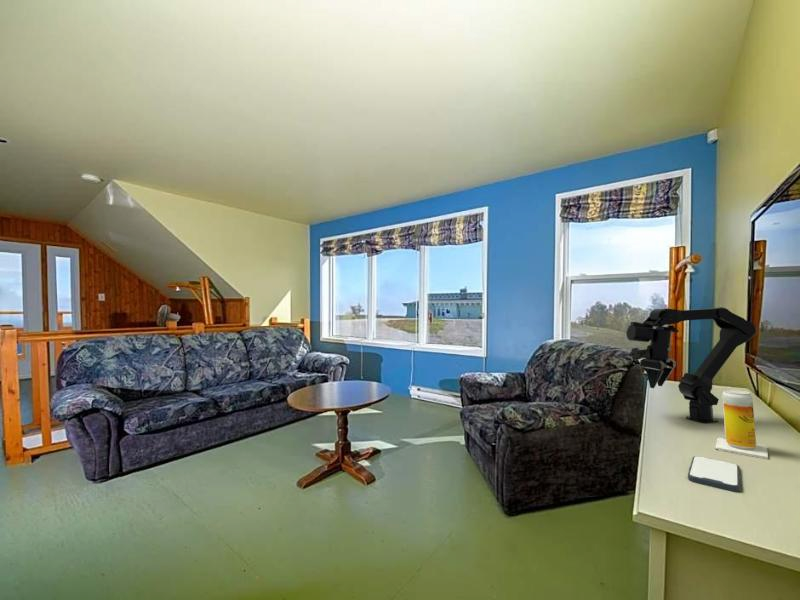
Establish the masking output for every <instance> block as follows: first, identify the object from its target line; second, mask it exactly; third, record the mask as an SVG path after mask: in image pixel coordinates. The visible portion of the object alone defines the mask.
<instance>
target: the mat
mask: <svg viewBox="0 0 800 600" xmlns="http://www.w3.org/2000/svg"><path fill="white" fill-rule="evenodd" d="M714 449H715V450H716V449H718V450H717V451H720V450H723V451H722V452H726V451H728V452H727V453H731V452H733V453H732V454H736V453H738V455H742V454H743V455H744V456H747V455H748V457H755V458H760V459H765V460H769V456H768V447H767V445H764V444H759V443H756V447H754V449H752V450H745V449H739V448H735V447H732V446H730V445H728V443H727V442H726V440H725V438H723V437H722V438H721V437H717V439H716V444H715V448H714ZM743 455H742V456H743Z"/></svg>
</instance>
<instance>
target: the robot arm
mask: <svg viewBox="0 0 800 600" xmlns="http://www.w3.org/2000/svg"><path fill="white" fill-rule="evenodd" d="M700 320H712V321H714V323H715V326H717V327H718V328H719V329H720V330H719V339H718V342H717V343H716V344H715V345H714V346H713V348H712V349H711V351H710V352H709V353H708V355H706V357H705V359H704V360H703V362H702V363H701V364H700V366H699V367H698V368H697V369H696V371H695V372H692V373H689V372H685V373H684V374H683V375H682V378H681V379H679V380H678V382H679V383H678V391H679V392H680V394H682V396H683V398H684V400H687V401H688V404H689V405H688V408H689V409H688V413H689V415H688V416H685V419H688V420H692V421H694V422H695V421H696V422H700V423H702V424H709V423H715V422H719V419H717V418H714V408H713V406H717V405H718V404H719V399H720V398H718V397H717V396H716V395H714V394H713V393H712V392H711V391H712V390H713V380H714V378H715V377H716V375H717V374H718V373H719V371H720V370H721V369H722V367H724V364H725V363H726V362H727V360H729V358H730V357H731V355H733V353H734V352H735V350H736V349H737V347H739V346H741V345H743V344H745V343H747V342H749V341H750V340H751V339H752V337H754V336H755V334H756V332H757V329H756V327H755V326H756V325H754V323H752V322H751V321H748V320H746V318H744V317H741V316H740V315H738V314H735V313H734V312H732V311H730V310H729V309H727V308H725V307H718V306H717V307H711V308H698V309H683V310H682V309H676V308H654V309H652V310H651V311H650V313H649V316H647V318H646V319H645V320H644V321H643V322H639V321H638V322H637V321H631V322H630V325H629V326H628V328H627V329H626V337H627V340H629V341H630V342H631V341H632V342H633V341H634V342H642V343H649V342H650V344H649V345H647V346H646V348H645V349H644V348H643V349H640V348H638V347H633V348H631V351H629V356H631V359H632V361H638V360H640V361H639V367H641V369H643V370H644V372H646V374H647V379H648V384H649V388H650V389H654V388H656V386H659V387H662V386H663V385H664V383H666V381H667V379H668V378H669V376H670V375H671V373H672V372H673V371H674V368H676V366H677V361H676V360H674V359H672V358H670V351H672V347H671V340H672V333H679V332H680V330H678V329H677V328H676V327H675V324H678V323H682V322H685V321H700ZM654 327H656V328H654Z"/></svg>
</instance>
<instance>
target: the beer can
mask: <svg viewBox="0 0 800 600" xmlns="http://www.w3.org/2000/svg"><path fill="white" fill-rule="evenodd" d="M721 394H722V395H721V397H722V399H721V400H722V409H723V411H722V412H723V422H724V424H723V425H724V436H725V438H724V439H725V440H726V442H727V443H728V445H730V446H732V447H735V448H739V449H745V450H752V449H754V447H756V444H757V439H756V438H757V437H756V427H755V425H756V424H755V413H754V412H755V411H754V400H753V395H751V392H749V391H746V390H738V389H724V390H723V392H722V393H721Z"/></svg>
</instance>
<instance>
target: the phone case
mask: <svg viewBox="0 0 800 600" xmlns="http://www.w3.org/2000/svg"><path fill="white" fill-rule="evenodd" d="M739 470H740V465H738V464H737V463H734V462H728V461H723V460H719V459H713V458H707V457H702V456H699V455H698V456H697V455H696V456H695V455H694V456H693V457H692V459H691V463H690V466H689V469H688V473H687V479H688V481H690V482H692V483H695V484H700V485H703V486H708V487H711V486H712V488H717V489H719V490H721V489H722V490H725V491H729V492H734V493H739V492H741V485H742V484H741V476H740V475H741V474H740V473H741V471H739Z"/></svg>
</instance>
